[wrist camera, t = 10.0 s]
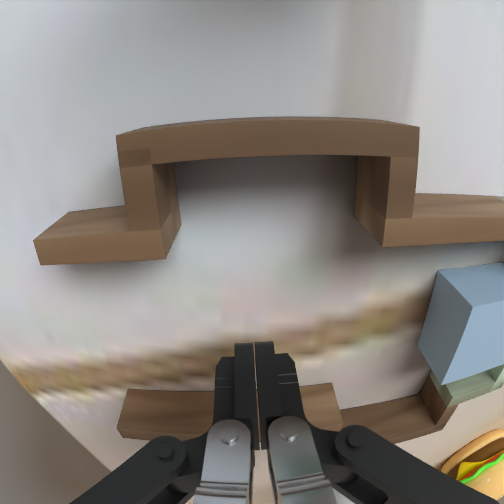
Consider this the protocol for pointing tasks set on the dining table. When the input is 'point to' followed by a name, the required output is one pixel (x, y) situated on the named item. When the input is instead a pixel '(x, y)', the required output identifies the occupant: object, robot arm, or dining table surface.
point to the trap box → (366, 212)
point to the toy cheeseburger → (480, 464)
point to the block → (465, 322)
